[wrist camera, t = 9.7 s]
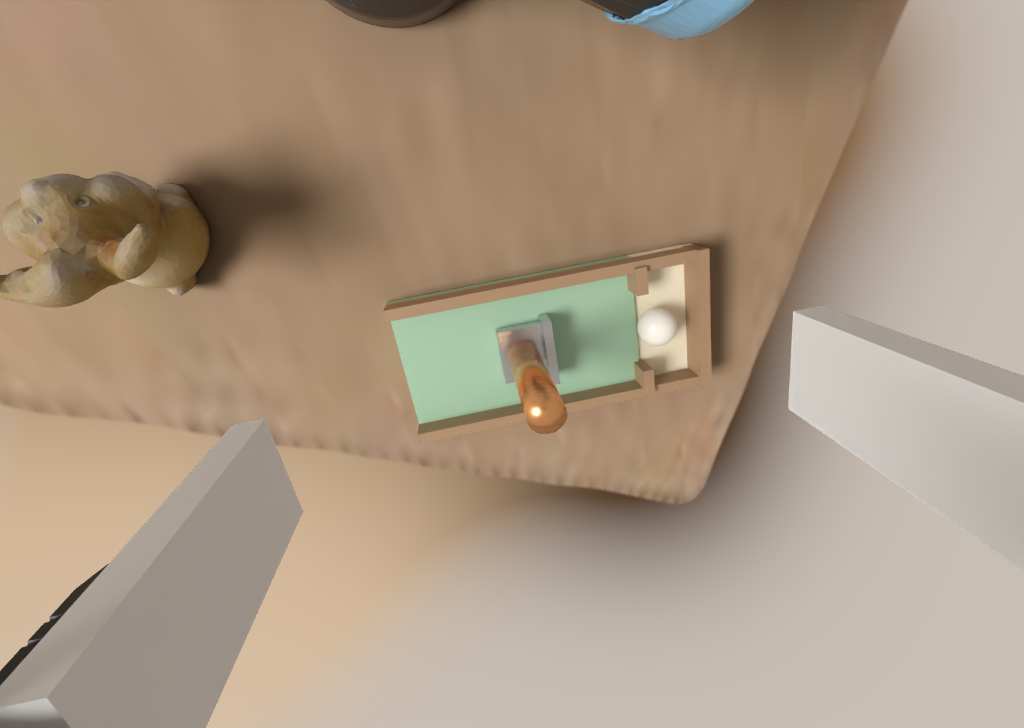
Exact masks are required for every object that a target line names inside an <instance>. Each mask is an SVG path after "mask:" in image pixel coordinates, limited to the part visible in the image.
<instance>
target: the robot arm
mask: <svg viewBox="0 0 1024 728" xmlns="http://www.w3.org/2000/svg"><path fill="white" fill-rule="evenodd" d="M326 1H327V2H329V3H330V4H331V5H332V6H334V7H335V8H337V9H338V10H340V11H341V12H343V13H345V14H347V15H348V16H350V17H352V18H355V19H357V20H359V21H362V22H365V23H368V24H371V25H376V26H381V27H392V28H397V27H409V26H414V25H418V24H421V23H424V22H427V21H429V20H432V19H433V18H435V17H437V16H439V15H441V14H442V13H444V12H445V11H446V10H448V9H449V8H450V7H452V6H453V5H454V4H455V3H456V2H457V1H458V0H326ZM581 1H583V2H585V3H587V4H589V5H592V6H594V7H596V8H598V9H600V10H602V11H604V14H605V16H606V17H607V18H608V19H610V20H612V21H613V22H616V23H618V24H629V25H636V26H638V27H640V28H643V29H645V30H648V31H650V32H653V33H655V34H658V35H660V36H663V37H666V38H669V39H674V40H682V39H685V38H693V37H697V36H702V35H705V34H707V33H709V32H711V31H714V30H715V29H717V28H719V27H720V26H722V25H724V24H725V23H727V22H728V21H730V20H731V19H733V18H734V17H735V16H737V15H738V14H739V13H741V12H742V11H743V10H744V9H746V8H747V7H748V6H749V5H750V4H751V3H752V2H754V1H755V0H581ZM791 348H792V349H791V367H790V387H789V407H788V409H789V410H791V411H792V412H794V413H795V414H797V415H798V416H799V417H801V418H803V419H804V420H805V421H807V422H808V423H810V424H811V425H812V426H814V427H815V428H817V429H818V430H820V431H821V432H822V433H824V434H825V435H827V436H828V437H830V438H831V439H833V440H834V441H835V442H837V443H838V444H840V445H841V446H843V447H844V448H845V449H847V450H848V451H850V452H852V453H853V454H854V455H856V456H857V457H858V458H860V459H861V460H863V461H864V462H866V463H867V464H869V465H870V466H872V467H873V468H874V469H876V470H877V471H879V472H880V473H881V474H883V475H885V476H886V477H887V478H889V479H890V480H892V481H893V482H894V483H896V484H897V485H899V486H900V487H902V488H903V489H905V490H906V491H907V492H909V493H910V494H912V495H913V496H915V497H916V498H917V499H919V500H920V501H922V502H923V503H925V504H926V505H928V506H929V507H930V508H932V509H933V510H935V511H936V512H938V513H939V514H941V515H942V516H944V517H945V518H946V519H948V520H949V521H951V522H952V523H953V524H955V525H956V526H958V527H959V528H961V529H962V530H964V531H965V532H966V533H968V534H969V535H971V536H972V537H974V538H975V539H976V540H978V541H979V542H981V543H982V544H984V545H985V546H987V547H988V548H989V549H991V550H992V551H994V552H995V553H997V554H998V555H999V556H1001V557H1003V558H1004V559H1005V560H1007V561H1008V562H1010V563H1011V564H1013V565H1014V566H1015V567H1017V568H1018V569H1020V570H1021V571H1023V572H1024V376H1023V375H1020V374H1017V373H1014V372H1011V371H1008V370H1006V369H1002V368H1000V367H997V366H994V365H991V364H988V363H986V362H983V361H980V360H977V359H974V358H971V357H969V356H966V355H963V354H960V353H957V352H954V351H951V350H949V349H946V348H943V347H940V346H937V345H934V344H931V343H928V342H926V341H923V340H920V339H917V338H914V337H911V336H908V335H906V334H903V333H900V332H897V331H894V330H891V329H888V328H886V327H883V326H880V325H877V324H874V323H871V322H868V321H866V320H863V319H860V318H857V317H854V316H851V315H848V314H845V313H843V312H840V311H837V310H834V309H831V308H828V307H826V306H818V307H813V308H808V309H803V310H798V311H793V328H792V347H791ZM302 513H303V510H302V508H301V505H300V503H299V500H298V498H297V496H296V493H295V491H294V488H293V486H292V483H291V481H290V479H289V476H288V474H287V471H286V469H285V467H284V464H283V462H282V459H281V457H280V454H279V452H278V450H277V447H276V445H275V442H274V440H273V437H272V435H271V433H270V430H269V428H268V425H267V423H266V421H265V419H260V420H255V421H250V422H245V423H240V424H236V425H232V426H231V427H230V428H229V429H228V431H227V432H226V433H225V434H224V435H223V436H222V437H221V438H220V440H219V441H218V442H217V443H216V444H215V445H214V446H213V447H212V449H211V450H210V451H209V452H208V453H207V454H206V455H205V457H204V458H203V459H202V460H201V461H200V462H199V463H198V464H197V465H196V466H195V468H194V469H193V470H192V471H191V472H190V473H189V475H188V476H187V477H186V478H185V479H184V480H183V481H182V482H181V484H180V485H179V486H178V487H177V488H176V489H175V490H174V491H173V492H172V493H171V495H170V496H169V497H168V498H167V499H166V500H165V501H164V503H163V504H162V505H161V506H160V507H159V508H158V509H157V510H156V511H155V513H154V514H153V515H152V516H151V517H150V518H149V519H148V521H147V522H146V523H145V524H144V525H143V526H142V527H141V528H140V529H139V531H138V532H137V533H136V534H135V535H134V536H133V537H132V538H131V540H130V541H129V542H128V543H127V544H126V545H125V546H124V547H123V549H122V550H121V551H120V552H119V553H118V554H117V555H116V557H114V559H113V560H112V561H111V562H110V563H109V564H107V565H106V566H105V567H104V568H102V569H101V570H100V571H98V572H97V573H96V574H94V575H93V576H92V577H91V578H89V579H88V580H87V581H86V582H84V583H83V584H82V585H80V586H79V587H78V588H76V589H75V590H74V591H73V592H72V593H71V594H70V596H69V597H68V598H67V599H66V600H65V601H64V602H63V603H62V604H61V605H60V607H59V608H58V609H57V610H56V611H55V612H54V613H53V614H52V615H51V617H50V621H49V622H47V623H44V624H43V625H42V626H41V627H40V628H39V630H38V631H37V632H36V633H35V634H34V635H33V636H32V637H31V638H30V639H29V641H28V645H27V646H26V647H22V648H21V649H20V650H19V651H18V652H17V654H15V656H14V657H13V658H12V659H11V660H10V661H9V662H8V663H7V664H6V665H5V666H4V668H3V669H2V670H1V671H0V728H206V726H207V724H208V722H209V719H210V717H211V714H212V713H213V710H214V708H215V706H216V704H217V702H218V699H219V697H220V695H221V693H222V690H223V688H224V686H225V684H226V682H227V679H228V677H229V675H230V673H231V670H232V668H233V666H234V664H235V662H236V659H237V657H238V655H239V653H240V650H241V648H242V646H243V644H244V641H245V639H246V637H247V635H248V633H249V630H250V628H251V626H252V624H253V621H254V619H255V617H256V615H257V613H258V610H259V608H260V606H261V604H262V601H263V599H264V597H265V595H266V593H267V590H268V588H269V586H270V584H271V581H272V579H273V577H274V575H275V573H276V570H277V568H278V566H279V564H280V562H281V559H282V557H283V555H284V553H285V550H286V548H287V546H288V544H289V541H290V539H291V537H292V535H293V533H294V530H295V528H296V526H297V524H298V521H299V519H300V517H301V515H302Z"/></svg>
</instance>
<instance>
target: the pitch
mask: <svg viewBox="0 0 1024 728" xmlns="http://www.w3.org/2000/svg"><path fill="white" fill-rule="evenodd" d="M653 308H662V309H665V310H667V311H669V312H670V313H672V315H673V316H674V317H675V319H676V322H677V331H676V334H675V336H674V338H673V339H672V340H671V341H670V342H669V343H667V344H665V345H662V346H651V345H648V344H646V343H645V342H644V341H643V340H642V339H641V338H640V336H639V334H638V330H637V325H638V321H639V319H640V317H641V316H642V315H643V314H644V313H645V312H646V311H648V310H650V309H653ZM383 313H384V316H385V320H386V322H391V324H392V328H393V331H394V335H395V339H396V342H397V346H398V349H399V353H400V357H401V360H402V364H403V367H404V371H405V375H406V378H407V382H408V385H409V389H410V393H411V396H412V400H413V403H414V407H415V411H416V414H417V418H418V421H419V430H418V437H419V440H420V444H422V443H426V442H431V441H436V440H441V439H446V438H450V437H455V436H460V435H465V434H470V433H475V432H479V431H484V430H489V429H494V428H499V427H503V426H508V425H513V424H518V423H523V422H527V421H526V417H525V414H524V411H523V407H522V404H521V400H520V397H519V394H518V390H517V387H516V384H515V382H514V383H509V384H506V381H505V377H504V372H503V367H502V361H501V356H500V351H499V346H498V341H497V336H496V331H495V329H499V328H504V327H509V326H514V325H519V324H524V323H529V322H534V321H538V315H542V314H547V315H548V317H549V318H550V320H551V323H552V330H553V336H554V343H555V350H556V357H557V364H558V371H559V377H560V384H557V385H555V386H556V388H557V390H558V392H559V394H560V396H561V398H562V400H563V402H564V405H565V407H566V409H567V413H571V412H576V411H581V410H585V409H590V408H595V407H600V406H605V405H609V404H614V403H619V402H624V401H629V400H634V399H638V398H643V397H648V396H653V395H658V394H662V393H667V392H672V391H677V390H682V389H687V388H691V387H696V386H700V387H701V388H704V387H709V386H712V372H711V311H710V250H709V248H706V247H702V246H699V245H695V244H691V243H687V244H682V245H677V246H672V247H667V248H662V249H656V250H651V251H646V252H641V253H636V254H631V255H626V256H621V257H615V258H610V259H605V260H600V261H595V262H590V263H585V264H579V265H574V266H569V267H564V268H559V269H554V270H549V271H544V272H538V273H533V274H528V275H523V276H518V277H513V278H508V279H502V280H497V281H492V282H487V283H482V284H477V285H472V286H467V287H461V288H456V289H451V290H446V291H441V292H436V293H431V294H426V295H420V296H415V297H410V298H405V299H400V300H395V301H390V302H388V303H387V305H386V306H385V308H384V310H383Z"/></svg>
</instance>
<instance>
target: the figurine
mask: <svg viewBox="0 0 1024 728" xmlns="http://www.w3.org/2000/svg"><path fill="white" fill-rule="evenodd" d="M157 190H158V193H156V191H155V190H154V189H153V188H152V187H151V186H150V185H149V184H147V183H146V182H144V181H141V180H139V179H137V178H134V177H131V176H128V175H125V174H122V173H119V172H109V173H107V174H102V175H98V176H95V177H93V178H91V179H85V178H81V177H79V176H76V175H71V174H55V175H50V176H47V177H43V178H39V179H33V180H31V181H29V182H27V183H26V184H24V185H23V186H22V189H21V193H20V194H21V199H20V200H17V201H15V202H14V203H12V204H11V205H9V206H8V207H7V209H6V210H5V212H4V214H3V216H2V228H3V231H4V233H5V234H6V236H7V238H8V239H9V240H10V241H11V242H12V243H13V244H14V245H15V246H16V247H17V248H18V249H19V250H21V251H22V252H24V253H25V254H27V255H28V256H30V257H32V258H33V259H35V260H37V261H38V262H37V263H36V264H35V265H34V266H31V267H25V268H21V269H17V270H14V271H12V272H11V273H9V274H8V275H0V298H2V299H6V300H10V301H15V302H20V303H24V304H29V305H35V306H41V307H65V306H71V305H74V304H77V303H80V302H82V301H85V300H87V299H89V298H90V297H91V296H93V295H94V294H96V293H97V292H99V291H101V290H102V289H104V288H106V287H108V286H111V285H115V284H118V283H120V282H123V281H125V280H126V281H128V282H131V283H133V284H136V285H139V286H143V287H149V288H164V289H167V290H168V291H169V292H171V293H172V294H174V295H178V296H180V295H183V294H185V293H186V292H188V291H189V290H191V289H192V288H193V287H194V286H195V284H196V280H197V279H196V275H195V273H196V272H197V271H198V270H199V269H200V267H201V266H202V265H203V263H204V261H205V260H206V257H207V255H208V252H209V247H210V232H209V227H208V224H207V222H206V219H205V217H204V216H203V214H202V213H201V212H200V210H199V209H198V207H197V206H196V205H195V203H194V201H193V200H192V198H191V196H190V194H189V193H188V192H187V191H186V190H185V189H184V188H183V187H182V186H179V185H176V184H172V183H166V184H163V185H161V186H159V187H158V189H157Z"/></svg>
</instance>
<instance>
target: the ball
mask: <svg viewBox="0 0 1024 728" xmlns="http://www.w3.org/2000/svg"><path fill="white" fill-rule="evenodd" d="M637 330H638V334H639V336H640V338H641V339H642V340H643V341H644V342H645V343H646V344H648V345H651V346H662V345H665V344H667V343H669V342H670V341H671V340H672V339H673V338H674V336H675V334H676V331H677V322H676V319H675V317H674V316H673V315H672V313H670V312H669V311H667V310H665V309H662V308H653V309H650V310H648V311H646V312H645V313H644V314H643V315H642V316H641V317H640V319H639V321H638V325H637Z"/></svg>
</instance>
